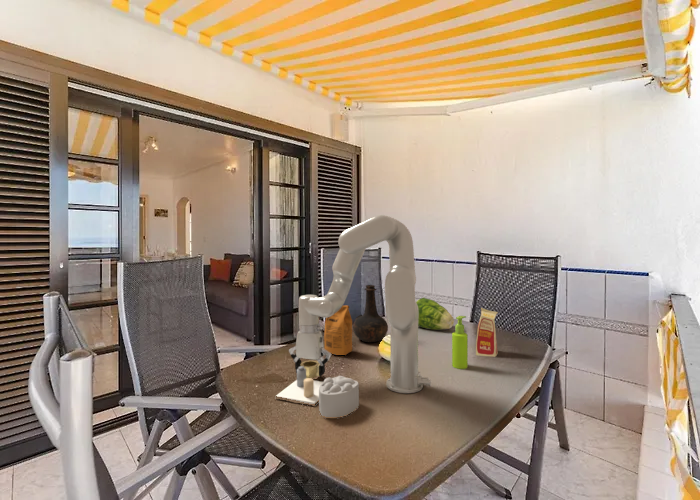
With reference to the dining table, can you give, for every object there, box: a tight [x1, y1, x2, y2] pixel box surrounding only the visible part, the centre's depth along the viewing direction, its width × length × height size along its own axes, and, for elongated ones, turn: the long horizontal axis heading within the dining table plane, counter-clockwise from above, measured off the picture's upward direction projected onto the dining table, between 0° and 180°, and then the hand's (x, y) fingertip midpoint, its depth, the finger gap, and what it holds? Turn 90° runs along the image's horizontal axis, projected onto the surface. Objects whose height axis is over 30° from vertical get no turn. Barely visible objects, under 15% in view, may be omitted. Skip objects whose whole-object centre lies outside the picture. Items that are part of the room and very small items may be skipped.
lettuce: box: [416, 297, 455, 331], centre depth 196 cm, size 17×23×16 cm
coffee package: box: [323, 305, 353, 356], centre depth 158 cm, size 10×12×22 cm
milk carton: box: [475, 307, 499, 358], centre depth 155 cm, size 9×9×20 cm
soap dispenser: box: [451, 315, 469, 370], centre depth 140 cm, size 6×7×20 cm
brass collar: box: [300, 359, 320, 378], centre depth 131 cm, size 7×7×5 cm
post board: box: [275, 366, 324, 404], centre depth 118 cm, size 14×15×8 cm
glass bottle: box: [352, 284, 389, 343], centre depth 177 cm, size 18×18×28 cm
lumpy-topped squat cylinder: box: [318, 375, 360, 417], centre depth 107 cm, size 10×13×9 cm
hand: (309, 373), depth 131 cm, fingers open, 9 cm apart
